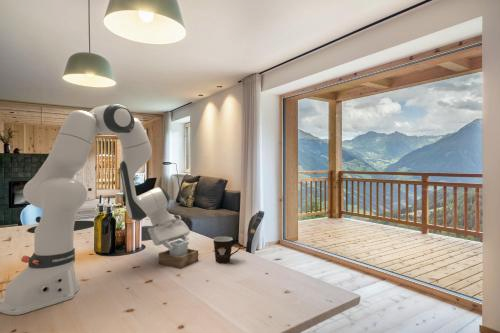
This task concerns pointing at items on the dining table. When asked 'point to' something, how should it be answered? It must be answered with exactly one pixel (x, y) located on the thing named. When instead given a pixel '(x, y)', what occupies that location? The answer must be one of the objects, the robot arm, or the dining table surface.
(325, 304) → the dining table surface
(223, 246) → the coffee mug
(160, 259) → the brown wooden tray
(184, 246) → the grey piece
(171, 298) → the dining table surface
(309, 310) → the dining table surface
